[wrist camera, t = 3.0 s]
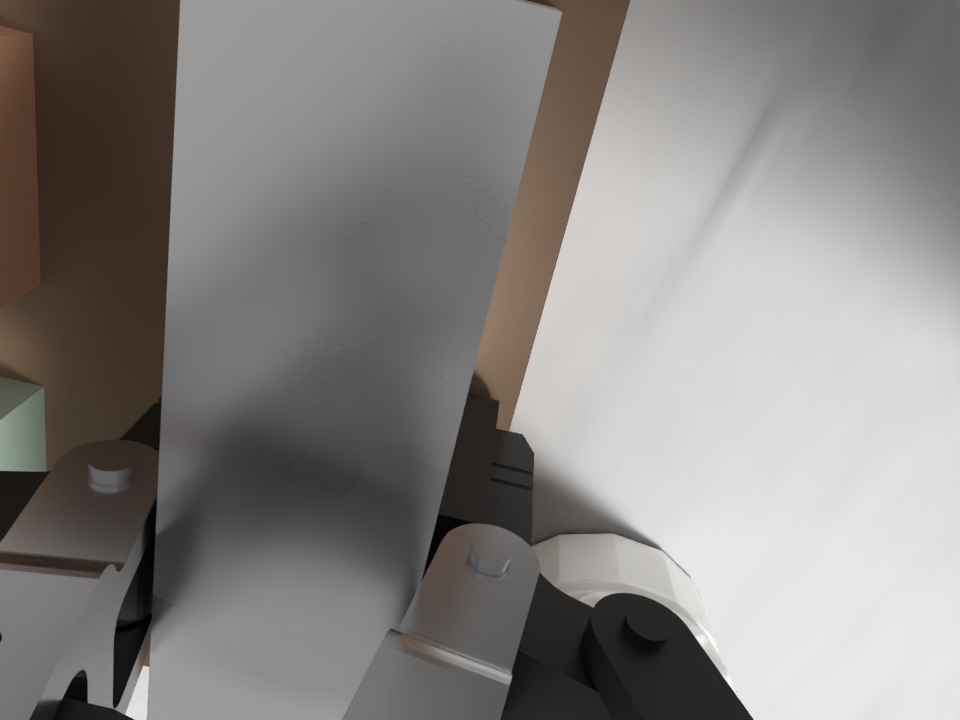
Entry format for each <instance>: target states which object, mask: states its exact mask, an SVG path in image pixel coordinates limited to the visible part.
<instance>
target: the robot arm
mask: <svg viewBox="0 0 960 720" xmlns="http://www.w3.org/2000/svg"><path fill="white" fill-rule="evenodd" d="M161 406H162V396H161V397H160V398H159V400H158V403H157V402H155V403H154V404H153V405H152V406H151V407H150V408H149V409H148V410H147V411H146V412H145V413H144V414H143V415H142V417H141V418H140V419H139V420H138V421H137V422H136V423H135V424H134V425H133V426H132V427H131V428H130V429H129V430H128V431H127V432H126V433H125V434H124V435H123V436H122V437H121V438H120V439H119V440H104V441H97V442H92V443H88V444H85V445H81V446H79V447H77V448H74V449H72V450H71V451H69V452H67V453H66V454H65V455H63V456H62V457H61V458H60V459H59V460H58V461H57V462H56V464H55V465H54V467H53V468H52V470H51V471H41V472H30V471H0V720H134V719H132V718H130V717H128V716H126V715H125V713H126V710H127V707H128V705H129V702H130V699H131V697H132V694H133V691H134V689H135V686H136V683H137V680H138V678H139V675H140V672H141V670H142V667H143V664H144V662H145V659H146V656H147V654H148V651H149V648H150V644H151V622H152V600H153V579H154V557H155V536H156V514H157V492H158V471H159V449H160V427H161ZM498 410H499V400H495V399H491V398H487V397H483V396H478V395H474V394H470V393H468V395H467V399H466V403H465V407H464V411H463V415H462V419H461V423H460V427H459V431H458V435H457V439H456V443H455V447H454V451H453V455H452V459H451V463H450V467H449V471H448V475H447V480H446V484H445V488H444V492H443V496H442V500H441V504H440V508H439V512H438V516H437V520H436V524H435V528H434V532H433V536H432V540H431V544H430V548H429V552H428V556H427V560H426V564H425V568H424V572H423V576H422V580H421V584H420V586H419V588H418V590H417V592H416V594H415V596H414V598H413V600H412V602H411V604H410V606H409V608H408V610H407V612H406V614H405V616H404V618H403V620H402V622H401V624H400V626H399V628H398V630H395V629H390V630H389V631H388V632H387V633H386V635H385V637H384V638H383V640H382V642H381V644H380V646H379V648H378V650H377V652H376V654H375V656H374V658H373V660H372V662H371V663H370V665H369V667H368V669H367V671H366V673H365V675H364V677H363V679H362V681H361V683H360V685H359V687H358V689H357V691H356V693H355V695H354V697H353V699H352V701H351V703H350V705H349V706H348V708H347V710H346V712H345V714H344V716H343V718H342V720H753V718H752V717H751V715H750V714H749V713H748V711H747V710H746V708H745V707H744V705H743V704H742V703H741V701H740V700H739V698H738V697H737V696H736V694H735V693H734V691H733V690H732V688H731V687H730V686H729V684H728V683H727V681H726V680H725V679H724V677H723V676H722V674H721V673H720V672H719V670H718V669H717V667H716V666H715V664H714V663H713V662H712V660H711V659H710V657H709V656H708V655H707V653H706V652H705V650H704V649H703V647H702V646H701V645H700V643H699V642H698V640H697V639H696V638H695V636H694V635H693V633H692V632H691V630H690V629H689V628H688V626H687V625H686V624H685V623H684V621H683V620H682V619H681V618H680V617H679V616H678V615H677V614H675V613H674V612H673V611H671V610H670V609H669V608H667V607H666V606H664V605H663V604H661V603H659V602H657V601H655V600H653V599H650V598H648V597H645V596H642V595H638V594H632V593H615V594H610V595H608V596H605V597H603V598H602V599H600V600H599V601H598V602H597V603H596V604H595V606H594V608H593V607H591V606H589V605H587V604H585V603H583V602H581V601H579V600H577V599H575V598H573V597H571V596H569V595H567V594H565V593H564V592H562V591H561V590H559V589H558V588H556V587H555V586H554V585H552V584H551V583H550V582H549V581H548V580H547V579H546V578H545V577H544V576H543V575H542V574H541V572H540V566H539V561H538V558H537V556H536V554H535V552H534V550H533V549H532V548H531V531H532V499H533V491H532V489H533V468H534V453H533V451H532V449H531V448H530V446H529V444H528V443H527V441H526V439H525V438H524V436H523V435H522V434H518V433H514V432H509V431H505V430H501V429H497V428H496V426H497V418H498Z"/></svg>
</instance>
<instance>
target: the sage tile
mask: <svg viewBox="0 0 960 720" xmlns="http://www.w3.org/2000/svg"><path fill="white" fill-rule="evenodd" d="M0 471H30V472H41V471H47V468H46V436H45V404H44V387H43V386H39V385H35V384H30V383H26V382H22V381H18V380H13V379H9V378H5V377H1V376H0Z"/></svg>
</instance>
